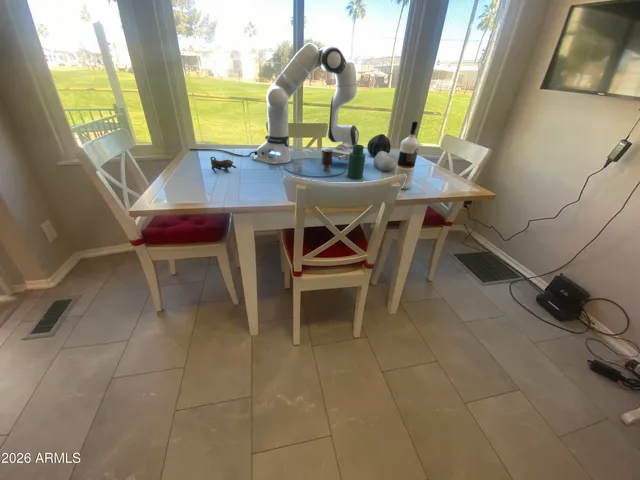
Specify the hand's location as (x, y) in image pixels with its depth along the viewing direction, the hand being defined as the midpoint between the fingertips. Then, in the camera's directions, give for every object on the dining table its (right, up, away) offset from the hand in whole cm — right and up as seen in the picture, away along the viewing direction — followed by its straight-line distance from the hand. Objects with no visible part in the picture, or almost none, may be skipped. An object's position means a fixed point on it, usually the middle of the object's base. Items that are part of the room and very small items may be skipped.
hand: (331, 156), depth 150 cm
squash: (+32, +10, +30) cm, 45 cm away
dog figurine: (-56, -11, -9) cm, 58 cm away
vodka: (+34, -20, -16) cm, 42 cm away
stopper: (-3, -8, -1) cm, 9 cm away
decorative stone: (+31, -5, +8) cm, 32 cm away
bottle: (+12, -13, -8) cm, 19 cm away
